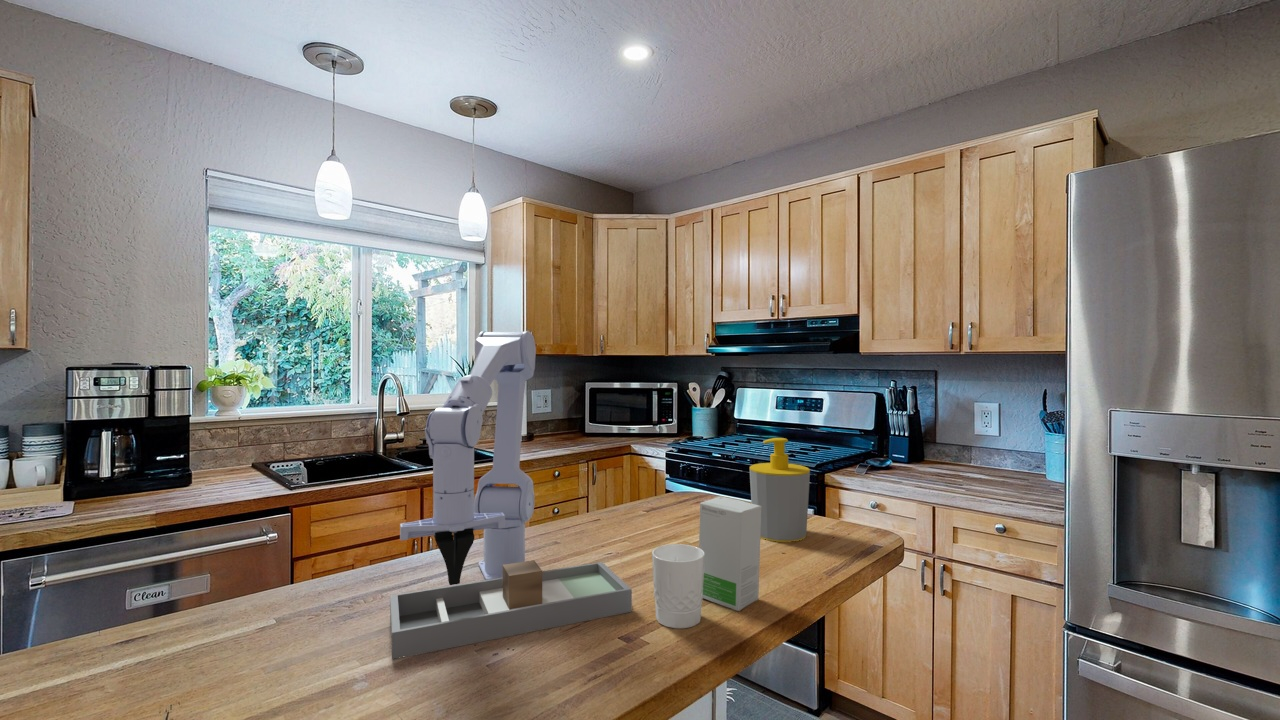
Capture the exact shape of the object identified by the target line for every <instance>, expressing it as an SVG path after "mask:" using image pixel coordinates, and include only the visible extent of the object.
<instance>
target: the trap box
mask: <svg viewBox="0 0 1280 720" xmlns="http://www.w3.org/2000/svg"><path fill="white" fill-rule="evenodd" d="M632 591H633V590H632V588H631V587H630V586H629V585H627V583H626V582H625V581H624V580H622V578H620V576H619V575H617V574H616V573H614V571H612V570H611V569H610V568H609V567H608V566H607V565H606V564H605V563H604V562H603V561H599V562H593V563H585V564H579V565H573V566H567V567H561V568H555V569H548V570H542V604H538V605H532V606H527V607H521V608H516V609H510V610H509V608H508V606H507V604H506V602H505V600H504V599H503V578H496V579H490V580H486V579H484V580H479V581H472V582H467V583H466V582H465V583H460V584H455V585H447V586H440V587H434V588H429V589H421V590H414V591H408V592H402V593H397V594H396V593H394V594H390V597H389V598H390V600H389V601H390V602H389V605H390V608H389V611H390V613H389V614H390V616H389V617H390V621H389V622H390V640H391V641H390V642H391V643H390V644H391V660H392V659H393V660H395V659H394V658H398V659H400V658H399V657H403V656H408V657H411V655H413V656H417V655H416V654H418V655H422V654H427V653H432V652H437V651H443V650H447V649H452V648H456V647H462V646H467V645H471V644H472V645H473V644H478V643H482V642H488V641H493V640H498V639H502V638H507V637H513V636H517V635H522V634H527V633H531V632H538V631H543V630H547V629H553V628H557V627H562V626H563V627H564V626H567V625H571V624H577V623H581V622H587V621H593V620H597V619H603V618H607V617H612V616H617V615H623V614H627V613H632V609H633V608H632V607H633V606H632V605H633V604H632V600H633V599H632V597H633V596H632ZM403 658H404V657H403Z"/></svg>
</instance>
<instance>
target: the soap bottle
mask: <svg viewBox="0 0 1280 720" xmlns="http://www.w3.org/2000/svg"><path fill="white" fill-rule="evenodd" d="M787 442H789V440H788V439H787V438H786V437H785V438H784V437H772V438H768V439H765V440H763V441H762V443H763V444H771V443H772V444H773V453H770V456H769V458H770V462H763V463H762V462H759V463H755V464H752V465H750V466H749V483H750V484H749V485H750V499H751V500H750V502H751V504H755V505H759V506H761V534H760V539H761V538H762V539H761V540H764V539H766V540H765V541H768V540H769V541H770V542H774V541H776V542H775V543H792V542H791V541H796V542H799V540H800V541H803V540H805V539H804V538H806V537H807V531H808V510H809V496H810V495H809V494H810V480H811V479H810V477H811V475H810V474H811V470H810V468H809V467H808V466H807V467H806V466H805V465H801V464H795V463H789V455H788V454H787V453H785V451H786V449H785V448H786V447H785V446H786V445H785V443H787ZM802 539H803V540H802ZM769 541H768V542H769Z"/></svg>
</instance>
